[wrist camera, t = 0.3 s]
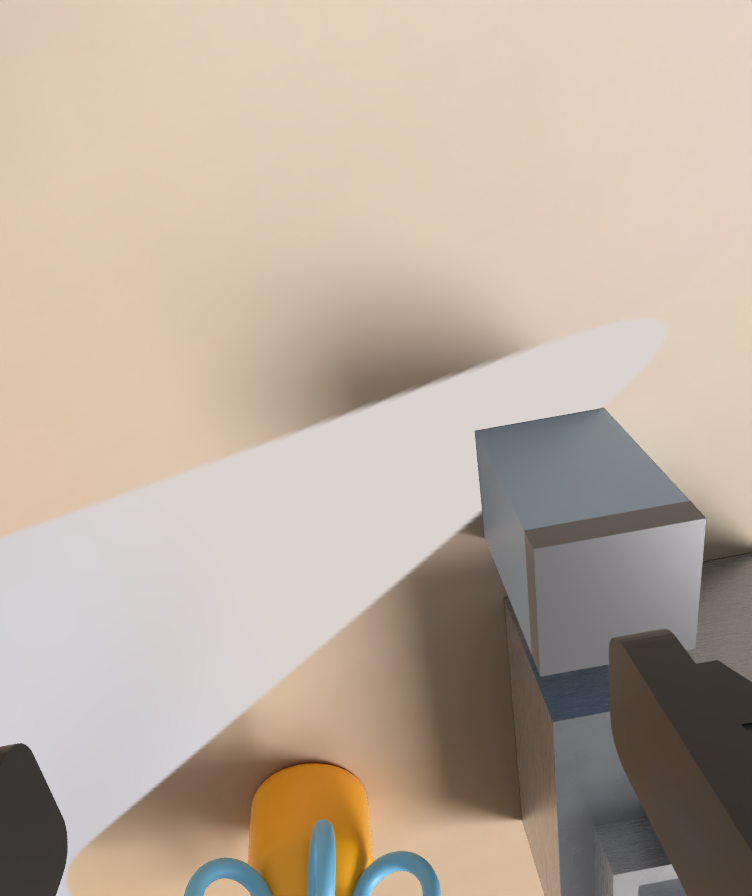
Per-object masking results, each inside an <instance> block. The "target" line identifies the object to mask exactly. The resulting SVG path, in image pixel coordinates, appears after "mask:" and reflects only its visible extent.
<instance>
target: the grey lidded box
mask: <svg viewBox="0 0 752 896" xmlns="http://www.w3.org/2000/svg"><path fill="white" fill-rule="evenodd" d="M475 439H476V450H477V461H478V471H479V482H480V491H481V492H480V493H481V503H482V513H483V524H484V535H485V540H486V542H487V545H488V547H489V550H490V552H491V555H492V557H493V560H494V562H495V565H496V567H497V570H498V572H499V575H500V577H501V580H502V582H503V585H504V587H505V590H506V592H507V595H508V597H509V600H510V602H511V605H512V607H513V610H514V612H515V615H516V617H517V620H518V622H519V624H520V627H521V629H522V632H523V634H524V637H525V639H526V642H527V644H528V647H529V649H530V652H531V654H532V657H533V659H534V662H535V664H536V667H537V669H538V672H539V674H540V677H542V676H547V675H553V674H558V673H564V672H569V671H575V670H580V669H586V668H591V667H597V666H602V665H608V664H609V643H610V640H611V639H612V638H614V637H620V636H625V635H631V634H636V633H642V632H647V631H653V630H658V629H664V628H665V629H668V630H670V631H671V632H672V633H673V634H674V635H675V636H676V637H677V639H678V640H679V641H680V643H681V644H682V646H683V647H684V648H685V650H690V649H695V646H696V634H697V622H698V610H699V598H700V587H701V575H702V563H703V551H704V539H705V527H706V518H705V516H704V515H703V514H702V513H701V512H700V511H699V510H698V509H697V508H696V507H695V506H694V505H693V503H692V502H691V501H690V500H689V499H688V498H687V497H686V496H685V495H684V494H683V493H682V492H681V491H680V489H679V488H678V487H677V486H676V485H675V484H674V483H673V482H672V481H671V480H670V479H669V478H668V476H667V475H666V474H665V473H664V472H663V471H662V470H661V469H660V468H659V467H658V466H657V465H656V464H655V462H654V461H653V460H652V459H651V458H650V457H649V456H648V455H647V454H646V453H645V452H644V451H643V449H642V448H641V447H640V446H639V445H638V444H637V443H636V442H635V441H634V440H633V439H632V438H631V436H630V435H629V434H628V433H627V432H626V431H625V430H624V429H623V428H622V427H621V426H620V425H619V424H618V422H617V421H616V420H615V419H614V418H613V417H612V416H611V415H610V414H609V413H608V412H607V411H606V409H605V408H601V409H595V410H589V411H584V412H578V413H573V414H567V415H562V416H556V417H550V418H544V419H539V420H533V421H527V422H522V423H516V424H511V425H505V426H499V427H493V428H488V429H482V430H476V431H475Z"/></svg>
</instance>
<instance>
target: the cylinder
mask: <svg viewBox="0 0 752 896" xmlns="http://www.w3.org/2000/svg"><path fill="white" fill-rule="evenodd" d="M396 871H407V872H410V873H412V874H414V875H415V876H416V877H417V878H418V880H419V881H420V883H421V886H422V891H423V896H441V890H440V884H439V881H438V878H437V875H436V873H435V871H434V869H433V868H432V867H431V865H430V864H429V863H428V862H427V861H426V860H425V859H424V858H422V857H421V856H419V855H417V854H415V853H412V852H407V851H397V852H392V853H388V854H386V855H384V856H382V857H380V858H378V859H377V860H375V861H373V850H372V839H371V829H370V818H369V808H368V799H367V794H366V791H365V789H364V787H363V785H362V784H361V782H360V781H359V780H358V779H357V778H356V777H355V776H354V775H353V774H351V773H350V772H348V771H347V770H344V769H342V768H340V767H336V766H332V765H328V764H319V763H312V764H301V765H295V766H292V767H289V768H285V769H283V770H281V771H279V772H277V773H274V774H273V775H272V776H270V777H269V778H267V779H266V780H265V781H264V782H263V783H262V784H261V785H260V786H259V788H258V790H257V792H256V793H255V795H254V798H253V801H252V808H251V821H250V836H249V851H248V864H246V863H245V862H242V861H240V860H237V859H232V858H220V859H215V860H212V861H210V862H208V863H206V864H204V865H203V866H202V867H200V868H199V869H198V870H197V871H196V872H195V873H194V875H193V876H192V878H191V879H190V881H189V883H188V885H187V887H186V890H185V894H184V896H203V895H204V892H205V890H206V888H207V887H208V885H209V884H210V883H212V882H213V881H215V880H217V879H221V878H228V879H232V880H235V881H237V882H239V883H240V884H242V885H243V886H244V887H245V888H246V889H247V890H248V891H249V892H250V894H251V896H370V895H371V893H372V891H373V889H374V888H375V886H376V885H377V884H378V882H379V881H380V880H381V879H383V878H384V877H385V876H387V875H388V874H390V873H393V872H396Z"/></svg>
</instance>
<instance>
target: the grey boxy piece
mask: <svg viewBox="0 0 752 896" xmlns="http://www.w3.org/2000/svg"><path fill="white" fill-rule="evenodd" d="M504 604H505V617H506V629H507V641H508V653H509V665H510V677H511V690H512V702H513V714H514V726H515V738H516V750H517V762H518V775H519V787H520V799H521V811H522V822H523V825H524V828H525V832H526V835H527V838H528V842H529V845H530V848H531V852H532V855H533V858H534V862H535V865H536V868H537V872H538V875H539V878H540V882H541V885H542V888H543V892H544V895H545V896H687V894H686V892H685V890H684V888H683V886H682V884H681V882H680V880H679V878H678V876H677V874H676V872H675V870H674V868H673V866H672V864H671V862H670V860H669V858H668V856H667V854H666V852H665V850H664V848H663V847H662V845H661V843H660V841H659V839H658V837H657V835H656V833H655V831H654V829H653V827H652V825H651V823H650V821H649V819H648V817H647V815H646V813H645V811H644V809H643V807H642V805H641V803H640V801H639V799H638V797H637V795H636V793H635V791H634V789H633V787H632V785H631V783H630V781H629V779H628V777H627V775H626V773H625V771H624V769H623V767H622V764H621V762H620V759H619V756H618V753H617V750H616V747H615V743H614V739H613V735H612V729H611V719H610V681H609V664H608V665H602V666H597V667H591V668H586V669H580V670H575V671H569V672H564V673H558V674H553V675H547V676H542V677H540V674H539V672H538V669H537V667H536V664H535V662H534V659H533V657H532V654H531V652H530V649H529V647H528V644H527V642H526V639H525V637H524V634H523V632H522V629H521V627H520V624H519V622H518V620H517V617H516V615H515V612H514V610H513V607H512V605H511V602H510V600H509V597H507V598H504ZM686 651H687V652H688V654H689V655H690V656H691V658H692V659H693V660H694V662H695V663H696V664H698V663H703V662H709V661H714V660H718V661H720V662H722V663H723V664H725V665H726V666H728V667H729V668H731V669H732V670H734V671H735V672H737V673H739V674H740V675H742V676H743V677H745V678H746V679H748V680H749V681H751V682H752V553H749V554H744V555H738V556H733V557H727V558H722V559H716V560H711V561H705V562H703V563H702V575H701V587H700V598H699V610H698V622H697V634H696V646H695V649H690V650H686Z"/></svg>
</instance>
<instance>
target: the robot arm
mask: <svg viewBox="0 0 752 896" xmlns="http://www.w3.org/2000/svg"><path fill="white" fill-rule="evenodd" d="M609 681H610V719H611V729H612V735H613V739H614V743H615V747H616V750H617V753H618V756H619V759H620V762H621V764H622V767H623V769H624V771H625V773H626V775H627V777H628V779H629V781H630V783H631V785H632V787H633V789H634V791H635V793H636V795H637V797H638V799H639V801H640V803H641V805H642V807H643V809H644V811H645V813H646V815H647V817H648V819H649V821H650V823H651V825H652V827H653V829H654V831H655V833H656V835H657V837H658V839H659V841H660V843H661V845H662V847H663V848H664V850H665V852H666V854H667V856H668V858H669V860H670V862H671V864H672V866H673V868H674V870H675V872H676V874H677V876H678V878H679V880H680V882H681V884H682V886H683V888H684V890H685V892H686V894H687V896H752V682H751V681H749V680H748V679H746V678H745V677H743V676H742V675H740V674H739V673H737V672H735V671H734V670H732V669H731V668H729V667H728V666H726V665H725V664H723V663H722V662H720V661H718V660H714V661H709V662H703V663H698V664H696V663H695V662H694V660H693V659H692V658H691V656H690V655H689V654H688V652H687V651H686V650H685V648H684V647H683V646H682V644H681V643H680V641H679V640H678V639H677V637H676V636H675V635H674V634H673V633H672V632H671V631H670V630H668V629H665V628H664V629H658V630H653V631H647V632H642V633H636V634H631V635H625V636H620V637H614V638H612V639H611V640H610V643H609ZM66 858H67V831H66V826H65V822H64V819H63V817H62V815H61V813H60V810H59V808H58V806H57V804H56V802H55V800H54V798H53V795H52V793H51V792H50V789H49V787H48V785H47V783H46V781H45V778H44V776H43V774H42V772H41V770H40V768H39V766H38V764H37V761H36V759H35V757H34V755H33V753H32V751H31V750H30V749H29V748H28V746H26V745H24V744H21V743H20V744H13V745H8V746H2V747H0V896H56V893H57V890H58V887H59V884H60V881H61V878H62V875H63V872H64V869H65V864H66Z"/></svg>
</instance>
